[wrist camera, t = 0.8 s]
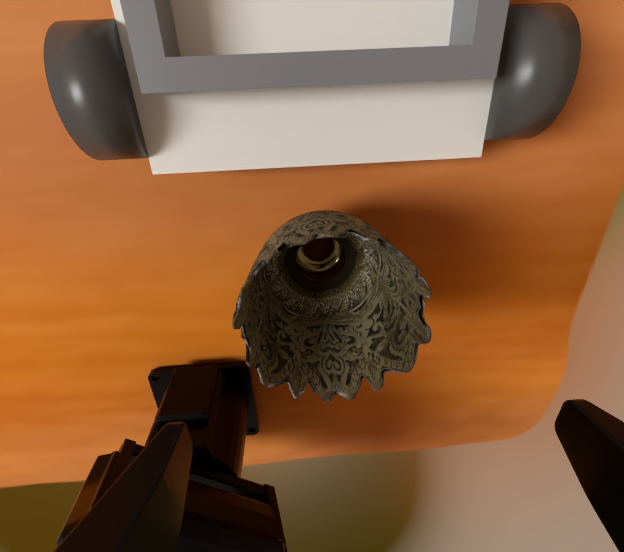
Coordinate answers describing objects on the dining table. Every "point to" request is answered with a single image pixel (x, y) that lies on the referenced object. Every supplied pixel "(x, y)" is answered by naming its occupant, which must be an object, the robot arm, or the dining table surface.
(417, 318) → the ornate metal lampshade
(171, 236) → the dining table surface
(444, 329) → the dining table surface
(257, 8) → the car chassis
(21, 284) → the dining table surface
